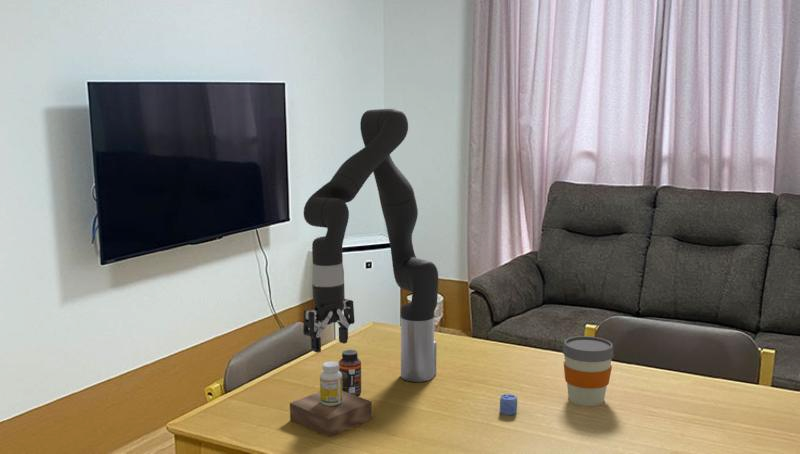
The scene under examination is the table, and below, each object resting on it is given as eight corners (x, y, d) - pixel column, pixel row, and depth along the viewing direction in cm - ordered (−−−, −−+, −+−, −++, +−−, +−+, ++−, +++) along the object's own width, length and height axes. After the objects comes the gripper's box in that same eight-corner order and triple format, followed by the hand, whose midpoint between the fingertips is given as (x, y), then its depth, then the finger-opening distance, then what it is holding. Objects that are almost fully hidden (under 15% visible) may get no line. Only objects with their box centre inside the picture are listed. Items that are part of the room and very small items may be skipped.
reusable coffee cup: (615, 394, 217) (618, 339, 214) (605, 412, 206) (608, 354, 203) (567, 387, 222) (569, 333, 219) (556, 404, 211) (557, 347, 208)
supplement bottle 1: (331, 408, 197) (330, 369, 195) (315, 402, 201) (314, 364, 199) (347, 401, 201) (346, 363, 200) (331, 396, 205) (330, 358, 203)
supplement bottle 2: (358, 398, 215) (357, 356, 213) (336, 396, 216) (335, 355, 214) (363, 389, 221) (363, 349, 219) (342, 388, 222) (341, 347, 220)
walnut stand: (332, 403, 211) (332, 387, 211) (372, 419, 202) (371, 401, 201) (290, 420, 201) (289, 403, 200) (329, 437, 192) (328, 419, 191)
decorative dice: (515, 415, 204) (516, 400, 203) (499, 414, 204) (499, 399, 204) (517, 409, 208) (517, 394, 207) (501, 408, 208) (501, 393, 208)
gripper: (339, 273, 203) (341, 336, 206) (294, 284, 193) (297, 351, 196) (361, 278, 198) (362, 343, 201) (316, 290, 188) (318, 358, 191)
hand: (330, 347), depth 198 cm, fingers open, 8 cm apart
